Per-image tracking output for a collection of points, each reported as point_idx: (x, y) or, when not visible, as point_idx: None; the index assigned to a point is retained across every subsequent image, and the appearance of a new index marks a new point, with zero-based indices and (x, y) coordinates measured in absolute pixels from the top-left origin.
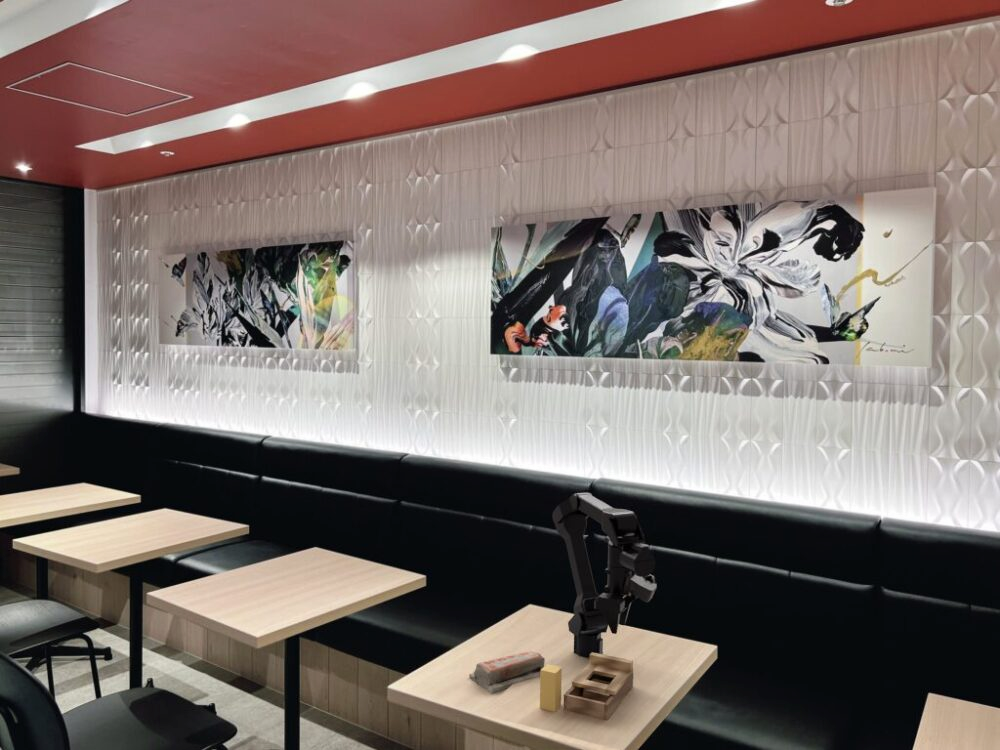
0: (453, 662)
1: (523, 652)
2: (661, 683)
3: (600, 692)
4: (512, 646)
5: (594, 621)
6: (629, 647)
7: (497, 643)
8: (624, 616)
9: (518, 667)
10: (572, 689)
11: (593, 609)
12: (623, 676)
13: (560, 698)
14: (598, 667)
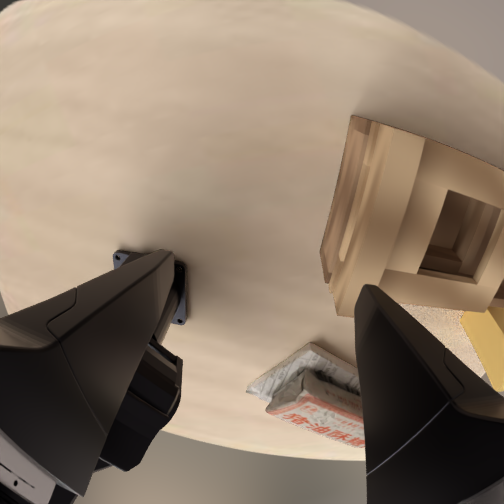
0: (298, 449)
1: (282, 418)
2: (260, 25)
3: (481, 224)
4: (193, 409)
5: (143, 369)
6: (47, 188)
7: (194, 423)
8: (143, 293)
9: (360, 409)
10: (494, 298)
11: (117, 412)
12: (454, 162)
13: (488, 307)
14: (392, 262)
